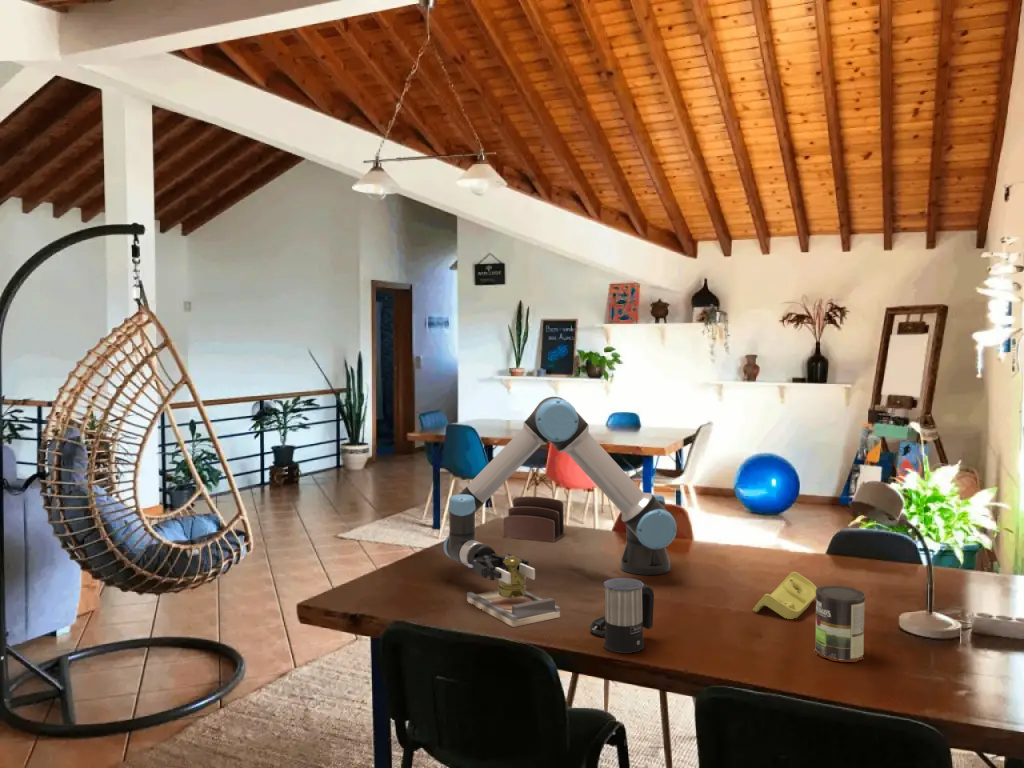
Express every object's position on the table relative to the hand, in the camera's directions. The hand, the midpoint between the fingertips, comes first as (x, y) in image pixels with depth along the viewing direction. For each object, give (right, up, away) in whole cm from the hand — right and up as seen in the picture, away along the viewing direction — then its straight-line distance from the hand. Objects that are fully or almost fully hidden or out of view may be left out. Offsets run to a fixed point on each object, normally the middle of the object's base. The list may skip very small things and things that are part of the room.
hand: (521, 576), depth 212 cm
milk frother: (+22, -11, -19) cm, 31 cm away
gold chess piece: (-2, -6, +5) cm, 8 cm away
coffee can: (+71, -11, -28) cm, 77 cm away
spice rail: (-2, -10, +5) cm, 11 cm away
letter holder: (+5, -6, +85) cm, 86 cm away
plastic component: (+70, -10, +4) cm, 71 cm away
